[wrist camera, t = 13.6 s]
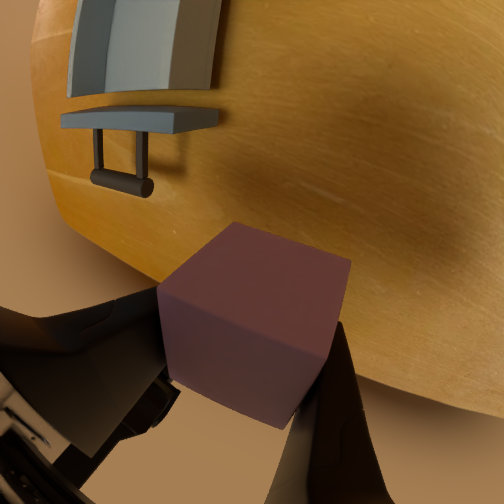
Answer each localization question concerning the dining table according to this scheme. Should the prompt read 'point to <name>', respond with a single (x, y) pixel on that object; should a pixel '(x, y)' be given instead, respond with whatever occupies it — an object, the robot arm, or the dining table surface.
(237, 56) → the dining table surface
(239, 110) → the dining table surface
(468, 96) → the dining table surface
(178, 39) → the drawer
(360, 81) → the dining table surface
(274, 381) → the cube
